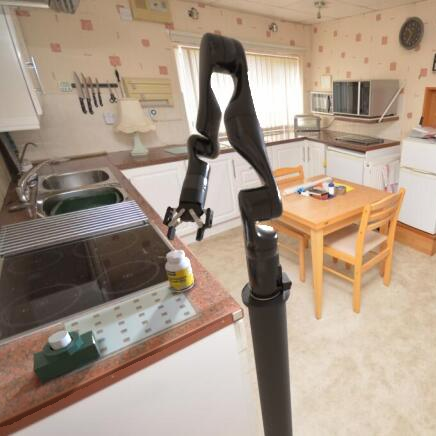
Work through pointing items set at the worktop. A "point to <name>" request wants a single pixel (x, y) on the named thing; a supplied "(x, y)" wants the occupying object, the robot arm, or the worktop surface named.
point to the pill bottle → (179, 271)
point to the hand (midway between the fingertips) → (184, 240)
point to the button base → (65, 356)
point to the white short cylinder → (59, 340)
